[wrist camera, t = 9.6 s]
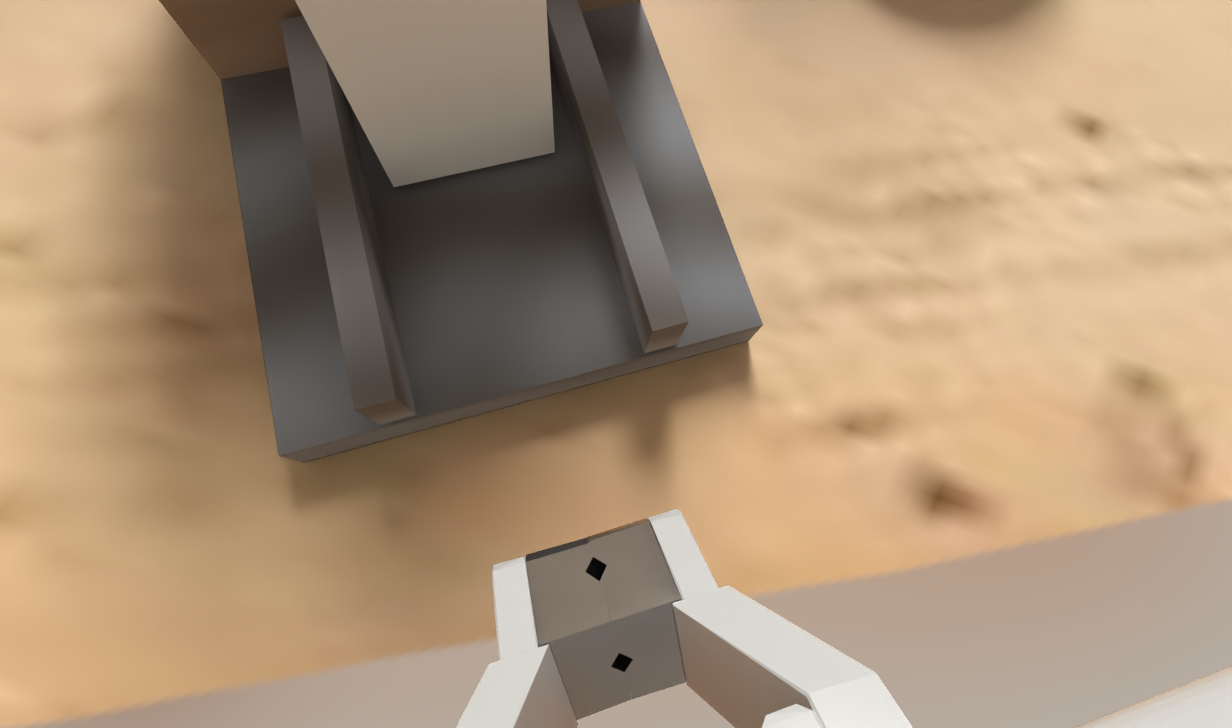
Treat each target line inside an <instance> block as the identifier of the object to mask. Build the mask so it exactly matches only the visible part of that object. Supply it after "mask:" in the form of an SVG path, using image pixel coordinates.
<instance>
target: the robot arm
mask: <svg viewBox="0 0 1232 728" xmlns="http://www.w3.org/2000/svg"><path fill="white" fill-rule="evenodd" d="M492 584H493V597H494V609H495V622H496V634H497V647H498V661H495V662H492V663H490V664H488V666H487V668H486V670H485V672H484V674H483V675H482V677H481V680H480V681H479V683H478V685H477V687H476V689H475V691H474V693H473V695H472V697H471V699H470V701H469V703H468V704H467V706H466V708H465V710H464V712H463V714H462V716H461V718H460V720H459V722H458V724H457V726H456V728H577V725H578V723H577V720H578V719H581V718H583V717H586V716H589V715H591V714H594V713H596V712H599V711H602V710H604V709H607V708H610V707H612V706H615V705H618V704H620V703H623V702H626V701H628V700H631V699H634V698H637V697H640V696H643V695H647V694H650V693H653V692H656V691H659V690H663V689H666V688H669V687H672V686H675V685H678V684H682V683H684V682H687V685H688V686H689V687H690V688H691V689H693V691H695V692H696V693H697V694H698V695H699V696H700V697H701V698H703V699H704V700H705V701H706V702H707V703H708V704H709V705H710V706H712V707H713V708H714V709H715V710H716V711H717V712H718V713H720V714H721V715H722V716H723V717H724V718H725V719H726V720H727V721H728V722H730V723H731V724H732V725H733V726H734V727H735V728H913V727H912V726H911V724H910V723H909V721H908V720H907V718H906V717H905V715H904V714H903V712H902V711H901V709H900V708H899V706H898V705H897V703H896V702H895V701H894V699H893V697H892V696H891V694H890V693H889V691H888V690H887V688H886V687H885V685H884V684H883V682H882V681H881V680H880V678H879V676H878V675H877V674H876V673H875V672H874V671H872V670H870V669H868V668H867V667H865V666H864V665H862V664H860V663H859V662H857V661H855V660H853V659H852V658H850V657H848V656H847V655H845V654H843V653H842V652H840V651H838V650H837V649H835V648H833V647H832V646H830V645H828V644H827V643H825V642H823V641H822V640H820V639H818V638H816V637H815V636H813V635H811V634H810V633H808V632H806V631H805V630H803V629H801V628H800V627H798V626H796V625H795V624H793V623H791V622H789V621H788V620H786V619H784V618H783V617H781V616H779V615H778V614H776V613H774V612H773V611H771V610H769V609H767V608H766V607H764V606H762V605H761V604H759V603H757V602H756V601H754V600H752V599H751V598H749V597H747V596H746V595H744V594H742V593H741V592H739V591H737V590H736V589H734V588H732V587H730V586H729V585H727V586H724V587H720V588H719V587H718V585H717V583H716V581H715V579H714V577H713V575H712V573H711V571H710V569H709V567H708V565H707V563H706V561H705V559H704V557H703V555H702V553H701V551H700V549H699V547H698V544H697V542H696V540H695V538H694V536H693V534H692V532H691V530H690V528H689V526H688V524H687V522H686V520H685V518H684V516H683V514H682V512H681V511H680V510H678V509H674V510H671V511H668V512H665V513H661V514H658V515H655V516H652V517H649V518H648V520H647V519H646V518H645V519H642V520H639V521H636V522H633V523H630V524H627V525H624V526H620V527H617V528H614V529H611V530H608V531H605V532H602V533H598V534H595V535H592V536H589V537H587V538H585V539H581V540H577V541H574V542H570V543H567V544H563V545H560V546H556V547H553V548H549V549H545V550H542V551H538V552H535V553H531V554H528V555H526V556H523V557H519V558H516V559H512V560H509V561H505V562H502V563H498V564H494V565H493V570H492ZM630 694H631V695H630ZM1074 728H1232V666H1231V667H1228V668H1226V669H1223V670H1221V671H1218V672H1216V673H1213V674H1210V675H1208V676H1205V677H1202V678H1200V679H1197V680H1195V681H1192V682H1190V683H1187V684H1185V685H1182V686H1179V687H1177V688H1174V689H1172V690H1169V691H1167V692H1164V693H1161V694H1159V695H1156V696H1154V697H1151V698H1148V699H1146V700H1143V701H1141V702H1138V703H1136V704H1133V705H1131V706H1128V707H1125V708H1123V709H1120V710H1118V711H1115V712H1113V713H1110V714H1107V715H1105V716H1102V717H1100V718H1097V719H1095V720H1092V721H1090V722H1087V723H1084V724H1082V725H1079V726H1077V727H1074Z"/></svg>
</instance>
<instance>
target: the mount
mask: <svg viewBox="0 0 1232 728" xmlns="http://www.w3.org/2000/svg"><path fill="white" fill-rule="evenodd" d="M159 1H160V2H161V3H162V5H163V6H164V7H165V9H166V10H167V11H168V12H169V14H170V15H171V16H172V18H173V19H174V20H175V21H176V23H177V24H178V25H179V26H180V28H181V29H182V30H183V32H184V33H185V34H186V35H187V37H188V38H189V39H190V41H191V42H192V43H193V44H194V46H195V47H196V48H197V49H198V51H199V52H200V53H201V55H202V56H203V57H204V58H205V60H206V61H207V62H208V64H209V65H210V66H211V67H212V69H213V70H214V71H215V72H216V74H217V75H218V76H219V78H220V79H221V83H222V90H223V96H224V103H225V109H226V116H227V122H228V128H229V135H230V141H231V148H232V154H233V161H234V167H235V174H236V180H237V187H238V193H239V200H240V206H241V213H242V219H243V226H244V232H245V239H246V245H247V252H248V258H249V265H250V271H251V278H252V284H253V291H254V297H255V304H256V310H257V317H258V323H259V330H260V336H261V343H262V349H263V356H264V362H265V368H266V375H267V381H268V388H269V394H270V401H271V407H272V414H273V420H274V427H275V433H276V440H277V446H278V453H279V456H281V457H285V458H289V459H292V460H296V461H300V462H307V461H310V460H314V459H318V458H321V457H325V456H329V455H332V454H336V453H340V452H343V451H347V450H351V449H354V448H358V447H362V446H365V445H369V444H373V443H376V442H380V441H384V440H387V439H391V438H394V437H398V436H402V435H405V434H409V433H413V432H416V431H420V430H424V429H427V428H431V427H435V426H438V425H442V424H446V423H449V422H453V421H457V420H460V419H464V418H468V417H471V416H475V415H478V414H482V413H486V412H489V411H493V410H497V409H500V408H504V407H508V406H511V405H515V404H519V403H522V402H526V401H530V400H533V399H537V398H541V397H544V396H548V395H552V394H555V393H559V392H562V391H566V390H570V389H573V388H577V387H581V386H584V385H588V384H592V383H595V382H599V381H603V380H606V379H610V378H614V377H617V376H621V375H625V374H628V373H632V372H636V371H639V370H643V369H646V368H650V367H654V366H657V365H661V364H665V363H668V362H672V361H676V360H679V359H683V358H687V357H690V356H694V355H698V354H701V353H705V352H709V351H712V350H716V349H720V348H723V347H727V346H730V345H734V344H738V343H741V342H745V341H749V340H750V339H751V338H752V336H753V335H754V334H755V333H756V332H757V331H758V330H759V329H760V327H761V326H762V325H763V324H762V321H761V319H760V316H759V314H758V311H757V308H756V306H755V303H754V300H753V298H752V295H751V292H750V290H749V287H748V285H747V282H746V279H745V277H744V274H743V271H742V269H741V266H740V263H739V261H738V258H737V256H736V253H735V250H734V248H733V245H732V242H731V240H730V237H729V234H728V232H727V229H726V226H725V224H724V221H723V219H722V216H721V213H720V211H719V208H718V205H717V203H716V200H715V197H714V195H713V192H712V190H711V187H710V184H709V182H708V179H707V176H706V174H705V171H704V168H703V166H702V163H701V161H700V158H699V155H698V153H697V150H696V147H695V145H694V142H693V139H692V137H691V134H690V132H689V129H688V126H687V124H686V121H685V118H684V116H683V113H682V110H681V108H680V105H679V102H678V100H677V97H676V95H675V92H674V89H673V87H672V84H671V81H670V79H669V76H668V73H667V71H666V68H665V66H664V63H663V60H662V58H661V55H660V52H659V50H658V47H657V44H656V42H655V39H654V37H653V34H652V31H651V29H650V26H649V23H648V21H647V18H646V15H645V13H644V10H643V8H642V5H641V2H640V0H546V7H547V25H548V42H549V59H550V77H551V94H552V111H553V129H554V146H555V152H554V153H549V154H545V155H540V156H536V157H531V158H526V159H522V160H517V161H513V162H508V163H503V164H499V165H494V166H490V167H485V168H480V169H476V170H471V171H467V172H462V173H457V174H453V175H448V176H444V177H439V178H435V179H430V180H425V181H421V182H416V183H412V184H407V185H402V186H398V187H393V185H392V183H391V181H390V179H389V177H388V175H387V174H386V172H385V170H384V168H383V166H382V164H381V162H380V160H379V158H378V157H377V155H376V153H375V151H374V149H373V147H372V145H371V143H370V141H369V139H368V138H367V136H366V134H365V132H364V130H363V128H362V126H361V124H360V122H359V121H358V119H357V117H356V115H355V113H354V111H353V109H352V107H351V105H350V103H349V102H348V100H347V98H346V96H345V94H344V92H343V90H342V88H341V86H340V85H339V83H338V81H337V79H336V77H335V75H334V73H333V71H332V69H331V67H330V66H329V64H328V62H327V60H326V58H325V56H324V54H323V52H322V50H321V49H320V47H319V45H318V43H317V41H316V39H315V37H314V35H313V33H312V32H311V30H310V28H309V26H308V24H307V22H306V20H305V18H304V16H303V14H302V13H301V11H300V9H299V7H298V5H297V3H296V1H295V0H159Z"/></svg>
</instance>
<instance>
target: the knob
mask: <svg viewBox="0 0 1232 728" xmlns="http://www.w3.org/2000/svg"><path fill="white" fill-rule="evenodd" d="M295 1H296V3H297V5H298V7H299V9H300V11H301V13H302V14H303V16H304V18H305V20H306V22H307V24H308V26H309V28H310V30H311V32H312V33H313V35H314V37H315V39H316V41H317V43H318V45H319V47H320V49H321V50H322V52H323V54H324V56H325V58H326V60H327V62H328V64H329V66H330V67H331V69H332V71H333V73H334V75H335V77H336V79H337V81H338V83H339V85H340V86H341V88H342V90H343V92H344V94H345V96H346V98H347V100H348V102H349V103H350V105H351V107H352V109H353V111H354V113H355V115H356V117H357V119H358V121H359V122H360V124H361V126H362V128H363V130H364V132H365V134H366V136H367V138H368V139H369V141H370V143H371V145H372V147H373V149H374V151H375V153H376V155H377V157H378V158H379V160H380V162H381V164H382V166H383V168H384V170H385V172H386V174H387V175H388V177H389V179H390V181H391V183H392V185H393V187H398V186H402V185H407V184H412V183H416V182H421V181H425V180H430V179H435V178H439V177H444V176H448V175H453V174H457V173H462V172H467V171H471V170H476V169H480V168H485V167H490V166H494V165H499V164H503V163H508V162H513V161H517V160H522V159H526V158H531V157H536V156H540V155H545V154H549V153H554V152H555V146H554V129H553V111H552V94H551V77H550V59H549V42H548V25H547V7H546V0H295Z"/></svg>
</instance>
